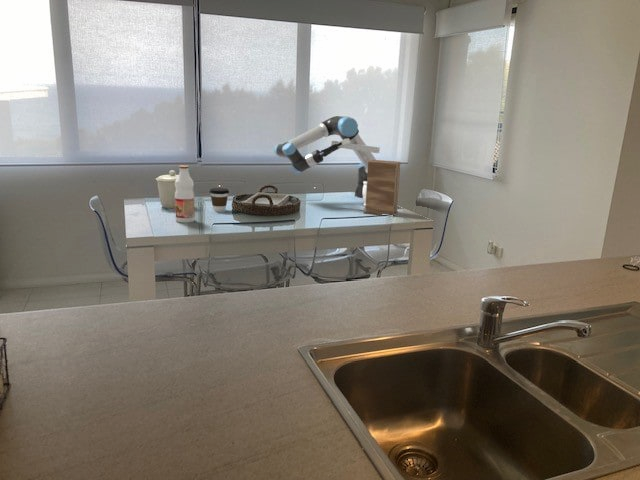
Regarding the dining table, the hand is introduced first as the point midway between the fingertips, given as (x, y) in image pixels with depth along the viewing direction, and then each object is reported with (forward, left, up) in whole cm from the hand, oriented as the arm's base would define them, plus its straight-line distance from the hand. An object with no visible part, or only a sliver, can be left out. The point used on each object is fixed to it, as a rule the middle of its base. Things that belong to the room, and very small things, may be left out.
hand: (348, 140), depth 308 cm
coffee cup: (+42, -61, -41) cm, 84 cm away
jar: (-20, +10, -41) cm, 47 cm away
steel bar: (0, +4, -5) cm, 7 cm away
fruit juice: (+74, -62, -41) cm, 105 cm away
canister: (+47, -88, -41) cm, 108 cm away
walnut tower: (0, +22, -41) cm, 46 cm away
